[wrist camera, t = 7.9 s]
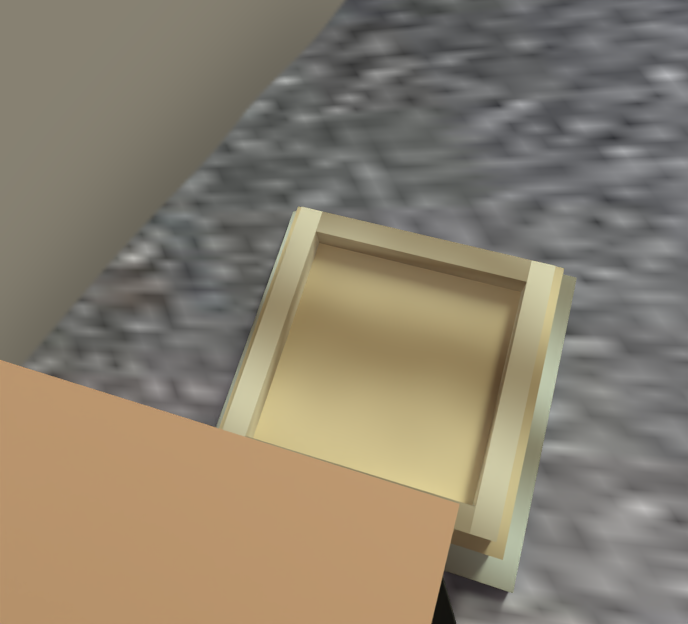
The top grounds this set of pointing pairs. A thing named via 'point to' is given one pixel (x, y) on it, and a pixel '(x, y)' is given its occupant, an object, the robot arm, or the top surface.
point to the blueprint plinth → (410, 371)
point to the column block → (196, 522)
